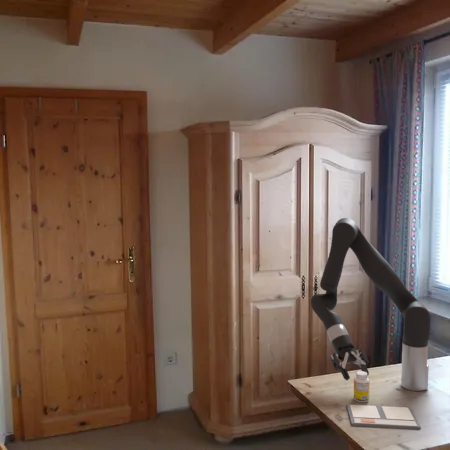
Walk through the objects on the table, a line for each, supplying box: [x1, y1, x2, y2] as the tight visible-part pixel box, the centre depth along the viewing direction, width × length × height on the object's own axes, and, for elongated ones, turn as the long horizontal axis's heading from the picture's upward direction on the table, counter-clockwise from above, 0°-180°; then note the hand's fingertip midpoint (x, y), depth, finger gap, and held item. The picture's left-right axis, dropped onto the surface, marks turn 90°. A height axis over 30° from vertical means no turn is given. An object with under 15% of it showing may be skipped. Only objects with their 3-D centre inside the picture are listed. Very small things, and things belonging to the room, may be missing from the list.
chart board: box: [346, 403, 422, 430], centre depth 172 cm, size 22×14×1 cm, turn 83°
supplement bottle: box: [353, 370, 370, 403], centre depth 185 cm, size 6×6×10 cm
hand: (357, 377), depth 187 cm, fingers open, 8 cm apart
